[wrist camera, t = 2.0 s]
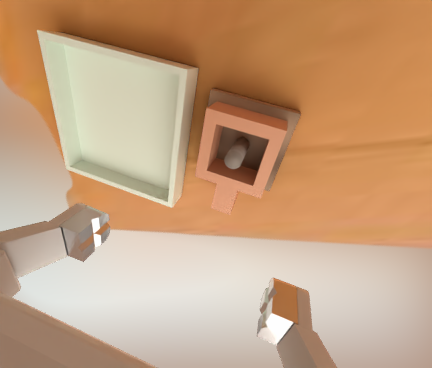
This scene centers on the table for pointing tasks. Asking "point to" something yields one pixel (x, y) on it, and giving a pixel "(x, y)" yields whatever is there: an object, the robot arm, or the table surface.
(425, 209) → the table surface
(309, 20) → the table surface
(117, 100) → the tray
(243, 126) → the orange frame with handle
